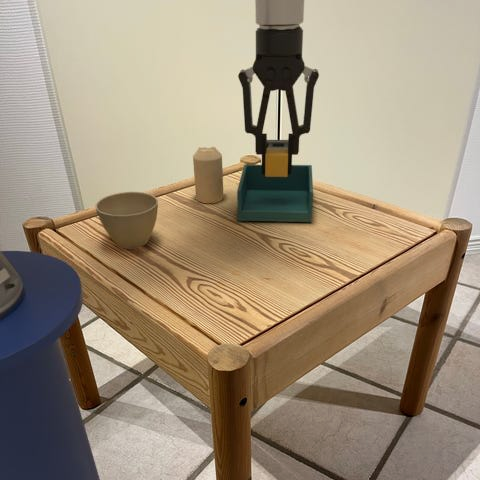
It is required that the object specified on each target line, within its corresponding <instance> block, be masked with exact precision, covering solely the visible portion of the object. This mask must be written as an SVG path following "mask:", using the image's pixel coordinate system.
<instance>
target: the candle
mask: <svg viewBox="0 0 480 480" xmlns="http://www.w3.org/2000/svg"><path fill="white" fill-rule="evenodd" d="M192 165H193V175H194V189H195V190H194V191H195V199H196V201H198V202H199V203H203V204H214V203H218V202H221V201H222V200H224V174H223V172H224V171H223V155H222V153H221V152H220V151H219V149H217V148H216V147H215V146H212V147H198V149H197V150H196V151H195V153H194V154H193V155H192Z"/></svg>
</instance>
